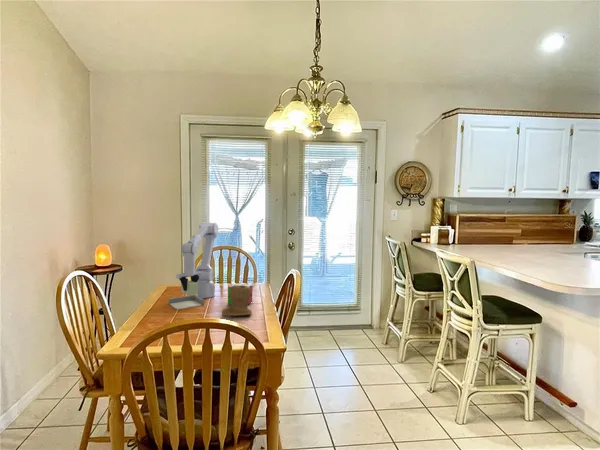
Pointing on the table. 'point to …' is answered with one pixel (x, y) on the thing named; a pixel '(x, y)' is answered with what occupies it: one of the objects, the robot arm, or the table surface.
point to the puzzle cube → (240, 285)
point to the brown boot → (238, 301)
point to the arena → (186, 302)
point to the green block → (190, 288)
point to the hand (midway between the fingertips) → (189, 289)
